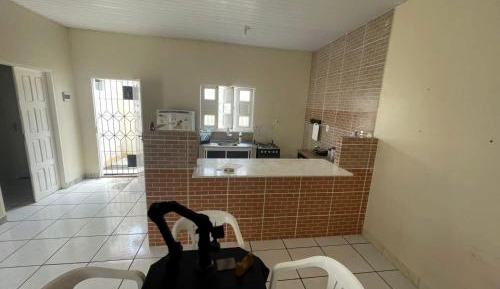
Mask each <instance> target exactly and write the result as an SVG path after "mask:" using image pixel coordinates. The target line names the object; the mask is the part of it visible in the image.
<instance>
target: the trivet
mask: <svg viewBox="0 0 500 289" xmlns="http://www.w3.org/2000/svg"><path fill="white" fill-rule="evenodd" d="M215 262H216V268H217V272H221V271H228V270H233V269H235V270H236V261H235V257H227V258H221V259H216V260H215Z"/></svg>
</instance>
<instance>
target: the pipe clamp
mask: <svg viewBox="0 0 500 289" xmlns="http://www.w3.org/2000/svg"><path fill="white" fill-rule="evenodd" d="M235 264H236V268H235V276H237V277H241V276H242V275H244V274H245V272H246V271H247V270H248V269H249V268H251V266H252V265H253V264H254V253H252V252H248V253H247V255H246V256H245V257H244V258H243V259H242V260H241V261H237V262H235Z"/></svg>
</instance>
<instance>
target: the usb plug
mask: <svg viewBox="0 0 500 289" xmlns="http://www.w3.org/2000/svg"><path fill="white" fill-rule="evenodd" d="M210 267H214V260H212V264H211V265H209V266H207V267H206V270H203V269H202V267H199V259H197V260H196V261H195V271H197V272H204V271H209V270H210V269H209V268H210Z"/></svg>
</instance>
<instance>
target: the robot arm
mask: <svg viewBox="0 0 500 289" xmlns="http://www.w3.org/2000/svg"><path fill="white" fill-rule="evenodd" d="M172 212H173V213H175V214H177V215H179V216H180V217H183V218H185V219H186V220H189V221H191V223H193V224H194V225H195V227H197V228H195V230H194V232H195V235H198V241H197V252H198V254H199V257H198V260H199V267H202V269H203V270H205V271H207V270H206V267H207V266H209V265H211V264H212V261H213V259H212V256H211V255H210V254H211V253H212V252H213V253H217V254H219V253H220V250H221V247H222V246H221V243H220V241H219V240H220V239H224V238H225V230H224V229H225V228H224V227H225V226H224V224H220V225H214V223H213V222H212V221H211V219H210V217H209V215H208V214H205V213H199V212H196V211H194V210H192V209H190V208H188V207H187V206H184V205H183V204H181V203H180V202H177V201H176V200H170V201H167V200H165V201H160V202H158V201H154V202H152V203H151V204H150V205H149V207H148V210H147V213H146V215H147V217H148V218H149V220H150V221H151V222H152V223H154V224H155V226H156V227H157V228H158V230H159V233H160V235H161V237H162V240H163V241H164V243H165V245H166V246H167V250H168V251H167V253H166V258H165V259H166V260H165V265H164V266H165V279H169V278H174V277H175V278H176V277H179V276H180V272H181V260H182V259H183V253H184V245H182V242H181V240H178V241H177V240H176V238H174V235H173V234H172V233H173V232H172V231H171V229H170V227H169V225H168V222H167V220H166V218H165V215H167V214H169V213H172ZM211 238H212V240H211Z"/></svg>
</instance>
